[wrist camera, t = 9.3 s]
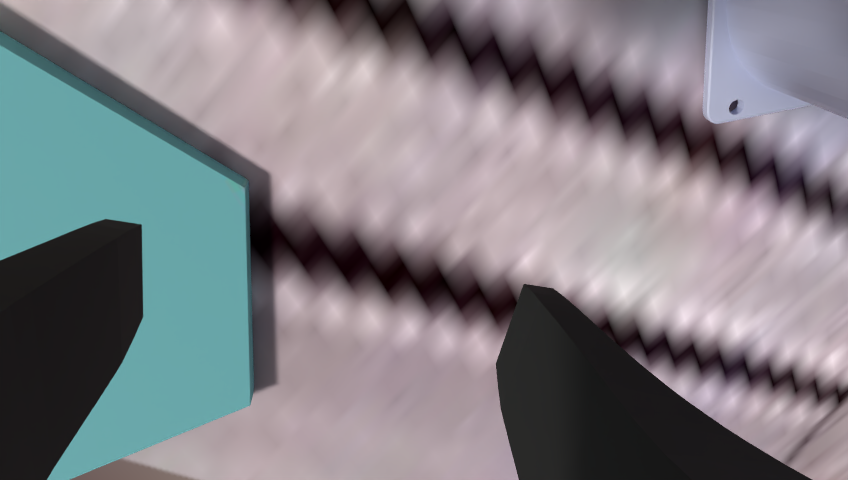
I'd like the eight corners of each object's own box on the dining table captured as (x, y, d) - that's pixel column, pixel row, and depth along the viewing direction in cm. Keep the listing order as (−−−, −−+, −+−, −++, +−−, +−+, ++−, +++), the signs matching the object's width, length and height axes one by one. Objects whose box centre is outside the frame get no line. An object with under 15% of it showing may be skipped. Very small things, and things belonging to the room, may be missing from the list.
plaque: (111, -70, 18) (-391, 181, 20) (82, -73, 16) (-468, 204, 18) (355, 339, 25) (-21, 490, 27) (355, 368, 24) (-48, 528, 26)
